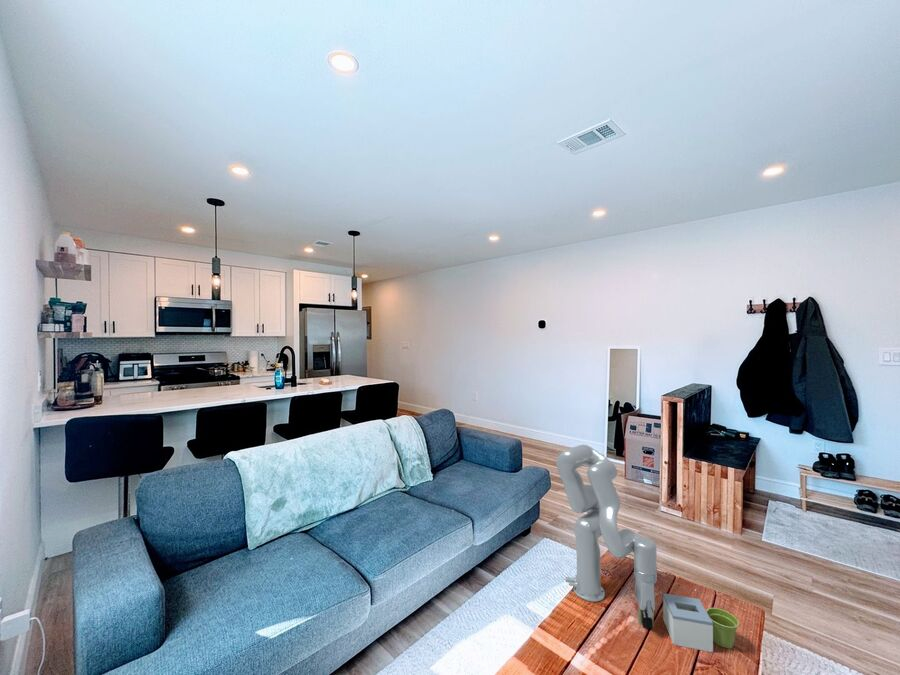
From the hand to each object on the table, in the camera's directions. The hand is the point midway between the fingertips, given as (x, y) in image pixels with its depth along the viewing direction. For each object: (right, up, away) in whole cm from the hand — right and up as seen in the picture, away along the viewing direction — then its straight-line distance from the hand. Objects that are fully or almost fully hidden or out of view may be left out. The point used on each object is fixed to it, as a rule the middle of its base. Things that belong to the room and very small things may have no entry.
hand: (645, 622), depth 138 cm
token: (0, -1, 0) cm, 1 cm away
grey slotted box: (+12, 0, -5) cm, 13 cm away
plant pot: (+23, -1, -8) cm, 24 cm away
